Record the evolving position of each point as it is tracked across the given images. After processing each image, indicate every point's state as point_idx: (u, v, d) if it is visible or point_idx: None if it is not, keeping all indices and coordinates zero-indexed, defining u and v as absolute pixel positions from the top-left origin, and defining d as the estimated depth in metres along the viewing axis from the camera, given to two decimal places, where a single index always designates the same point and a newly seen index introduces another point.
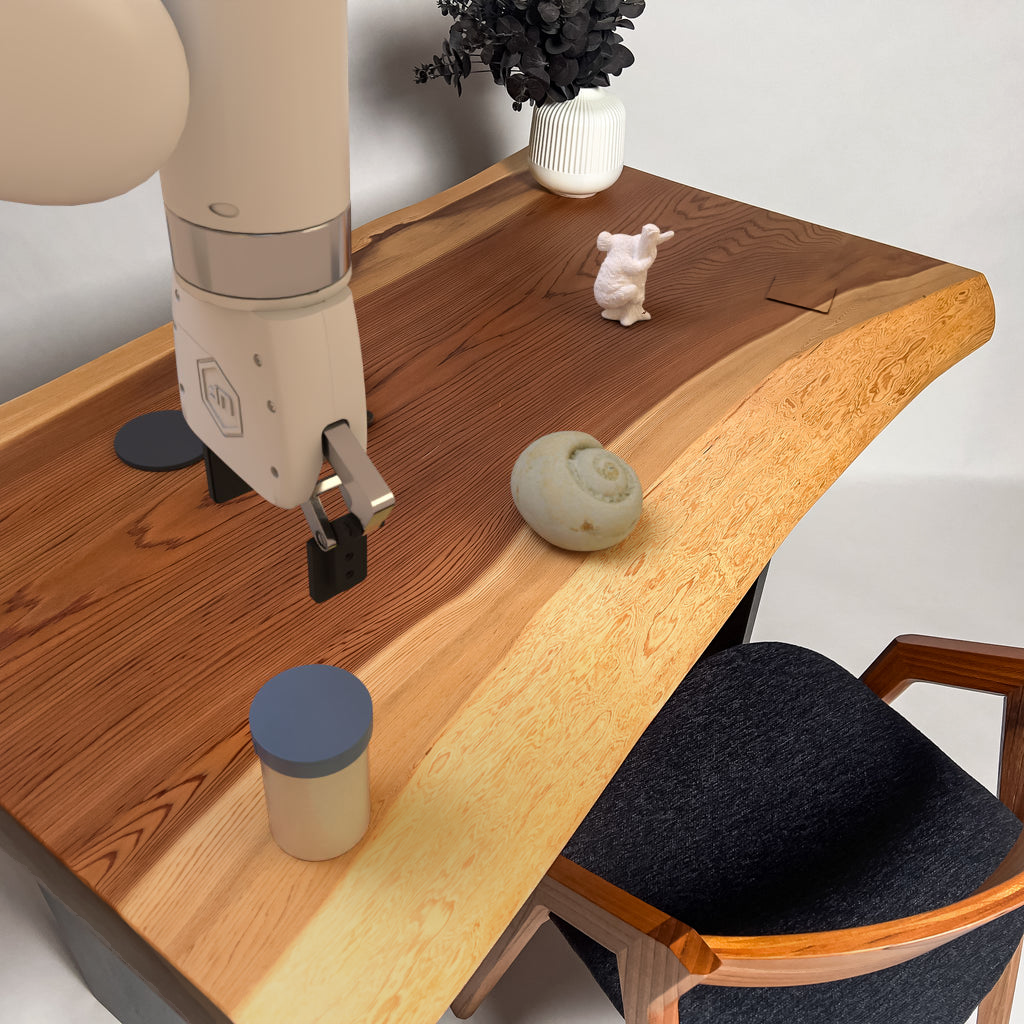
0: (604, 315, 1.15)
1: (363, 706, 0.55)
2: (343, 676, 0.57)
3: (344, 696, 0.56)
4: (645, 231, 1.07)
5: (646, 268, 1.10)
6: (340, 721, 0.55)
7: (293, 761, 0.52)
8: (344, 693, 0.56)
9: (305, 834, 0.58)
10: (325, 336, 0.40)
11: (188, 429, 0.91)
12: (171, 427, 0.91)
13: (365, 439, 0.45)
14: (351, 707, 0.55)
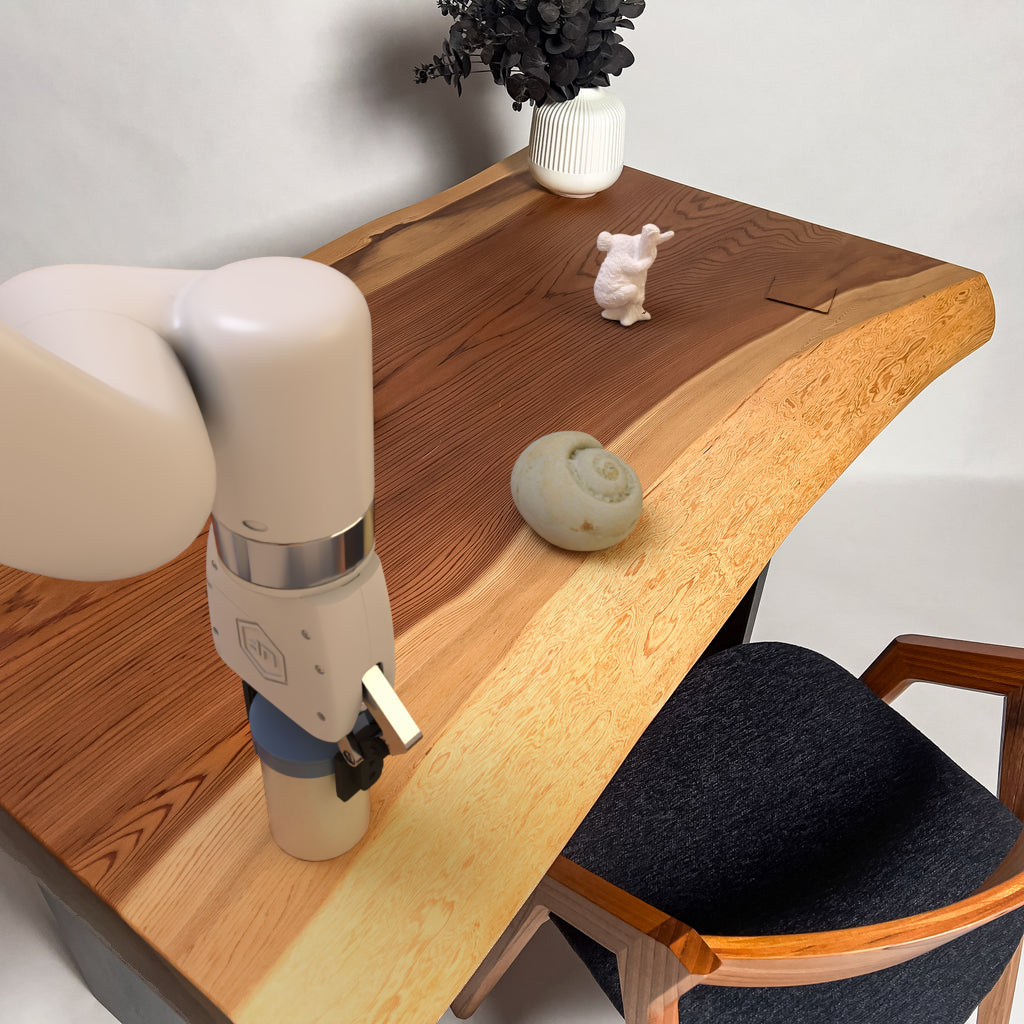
0: (604, 315, 1.15)
1: None
2: None
3: None
4: (645, 231, 1.07)
5: (646, 268, 1.10)
6: None
7: (293, 761, 0.52)
8: None
9: (305, 834, 0.58)
10: (363, 606, 0.45)
11: None
12: None
13: (394, 669, 0.50)
14: None
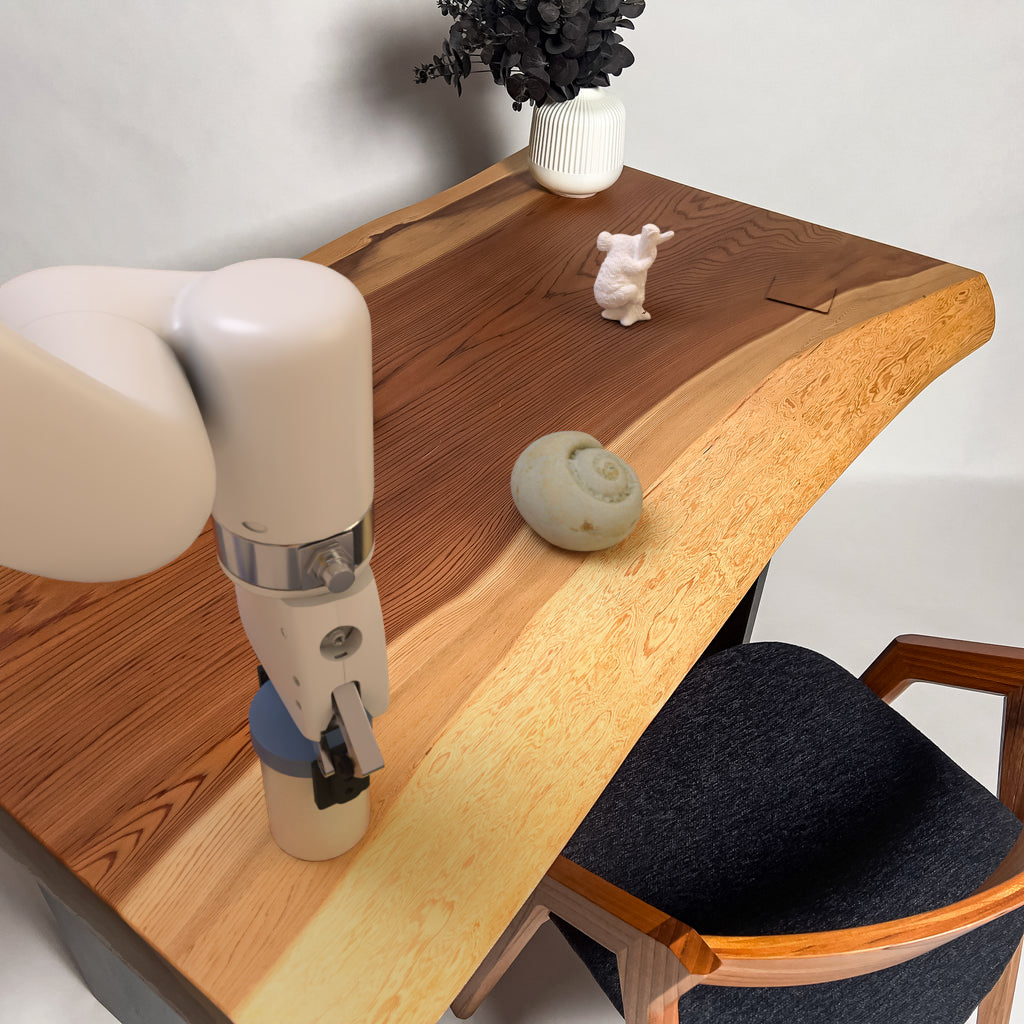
0: (604, 315, 1.15)
1: (261, 701, 0.55)
2: (265, 736, 0.53)
3: (274, 715, 0.54)
4: (645, 231, 1.07)
5: (646, 268, 1.10)
6: None
7: None
8: (273, 718, 0.54)
9: (305, 834, 0.58)
10: None
11: None
12: None
13: None
14: (273, 703, 0.55)
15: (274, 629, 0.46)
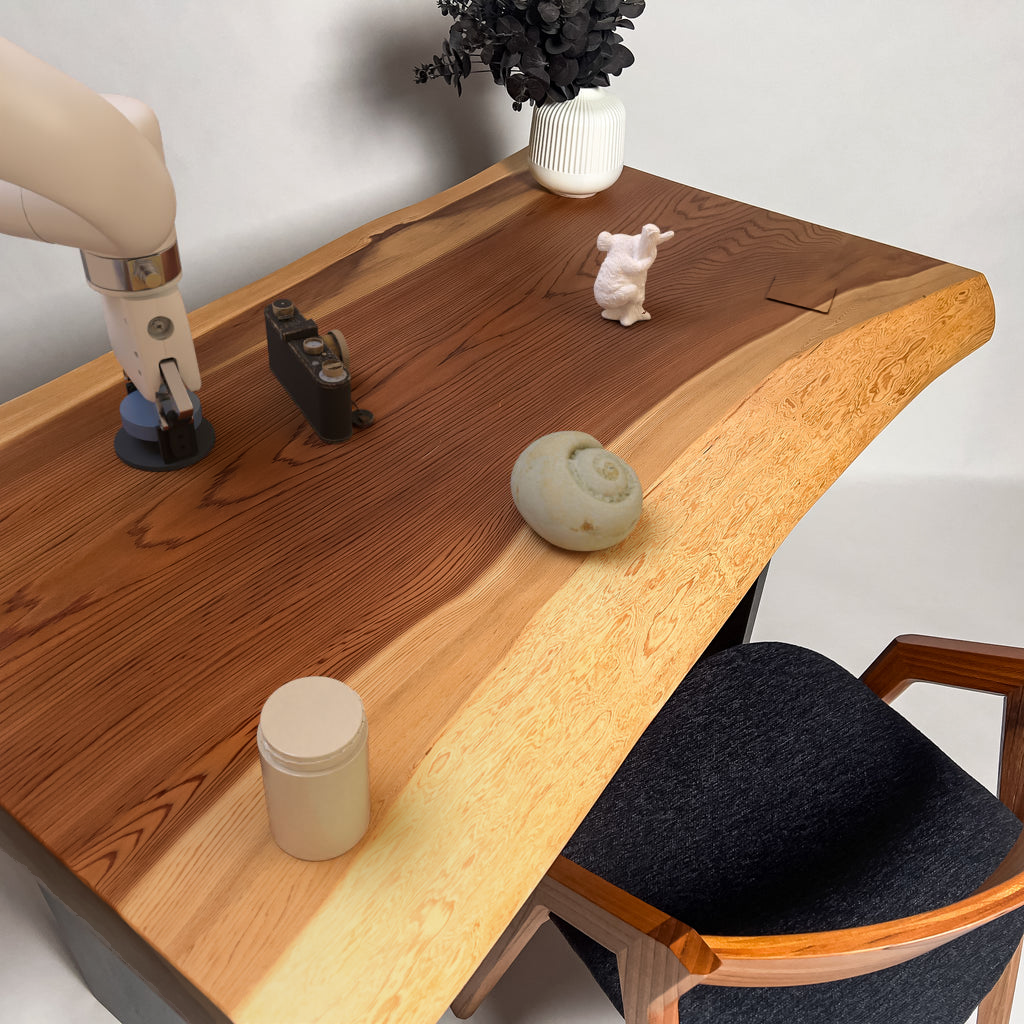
0: (604, 315, 1.15)
1: (128, 400, 0.88)
2: (129, 416, 0.86)
3: (136, 407, 0.87)
4: (645, 231, 1.07)
5: (646, 268, 1.10)
6: None
7: None
8: (135, 408, 0.87)
9: (305, 834, 0.58)
10: None
11: None
12: None
13: None
14: (135, 401, 0.88)
15: (121, 322, 0.78)
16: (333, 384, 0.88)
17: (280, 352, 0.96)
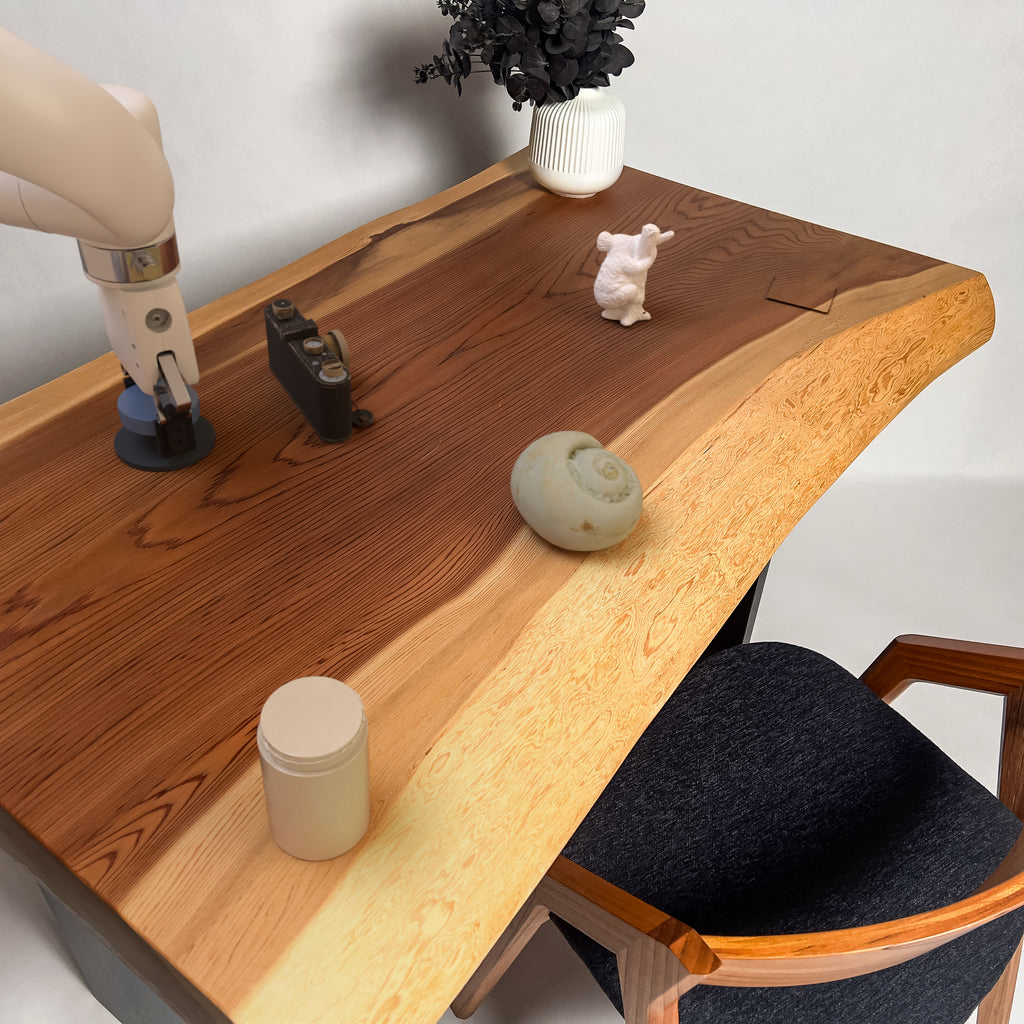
0: (604, 315, 1.15)
1: (126, 395, 0.87)
2: (127, 410, 0.85)
3: (133, 401, 0.86)
4: (645, 231, 1.07)
5: (646, 268, 1.10)
6: None
7: None
8: (133, 402, 0.86)
9: (305, 834, 0.58)
10: None
11: None
12: None
13: None
14: (133, 396, 0.87)
15: (119, 314, 0.78)
16: (333, 384, 0.88)
17: (280, 352, 0.96)
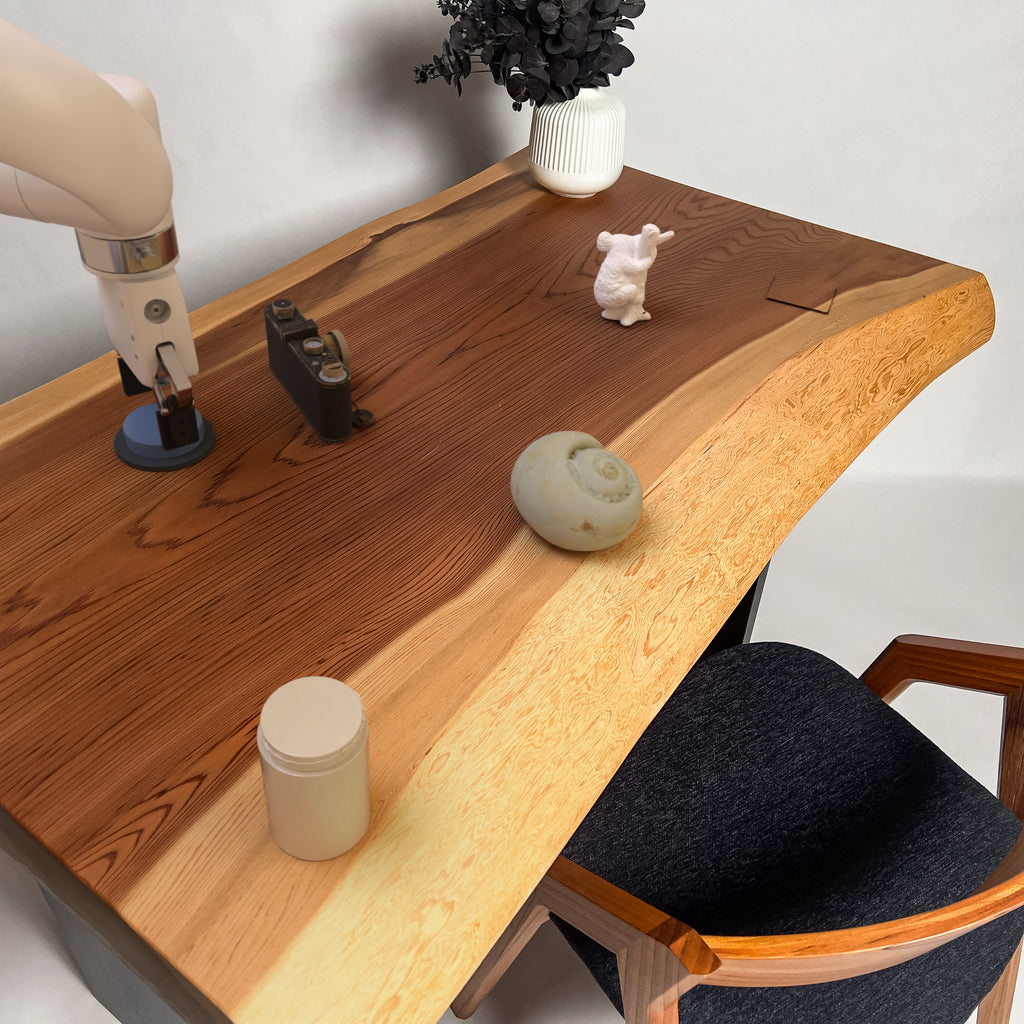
0: (604, 315, 1.15)
1: (131, 418, 0.89)
2: (132, 434, 0.87)
3: (139, 425, 0.88)
4: (645, 231, 1.07)
5: (646, 268, 1.10)
6: (149, 414, 0.90)
7: None
8: (138, 426, 0.88)
9: (305, 834, 0.58)
10: None
11: None
12: None
13: None
14: (138, 419, 0.89)
15: (118, 306, 0.77)
16: (333, 384, 0.88)
17: (280, 352, 0.96)
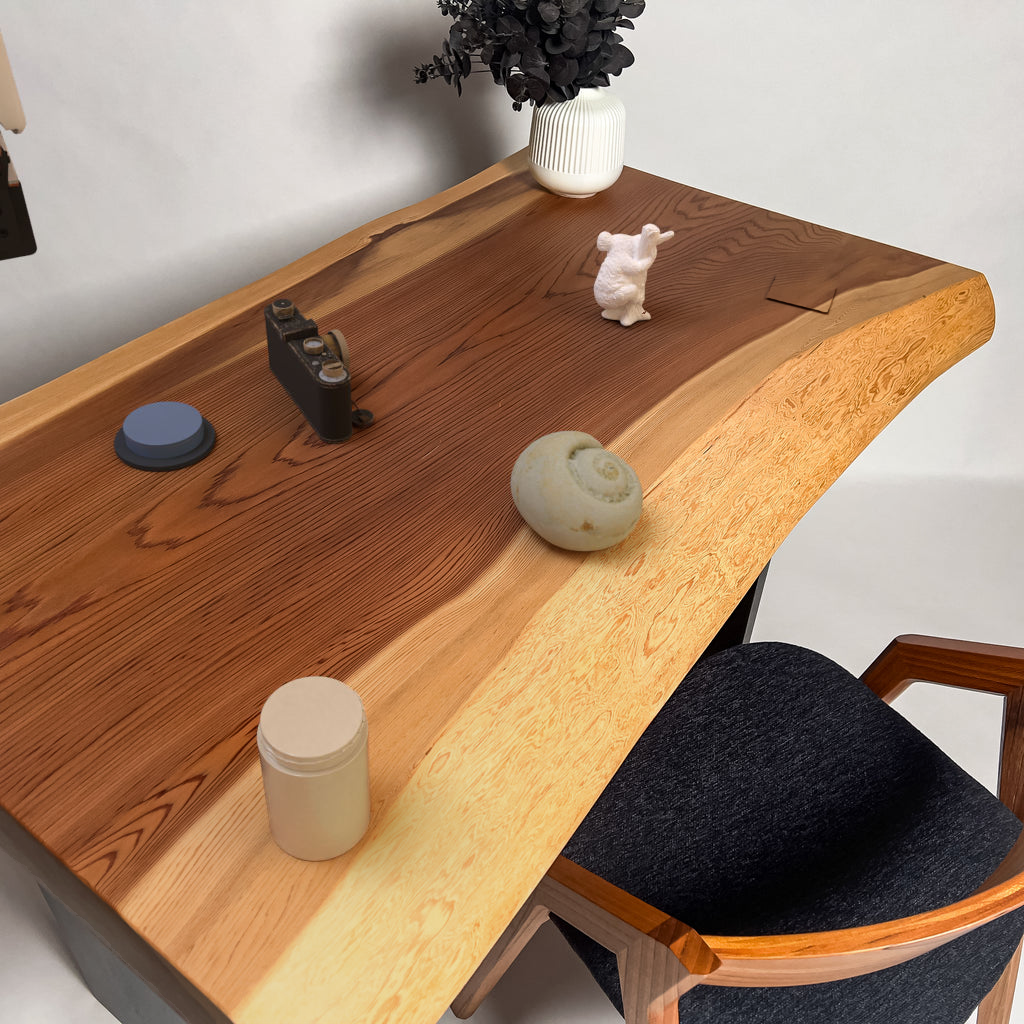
0: (604, 315, 1.15)
1: (131, 418, 0.89)
2: (132, 434, 0.87)
3: (139, 425, 0.88)
4: (645, 231, 1.07)
5: (646, 268, 1.10)
6: (149, 414, 0.90)
7: (186, 404, 0.91)
8: (138, 426, 0.88)
9: (305, 834, 0.58)
10: None
11: None
12: None
13: None
14: (138, 419, 0.89)
15: None
16: (333, 384, 0.88)
17: (280, 352, 0.96)
